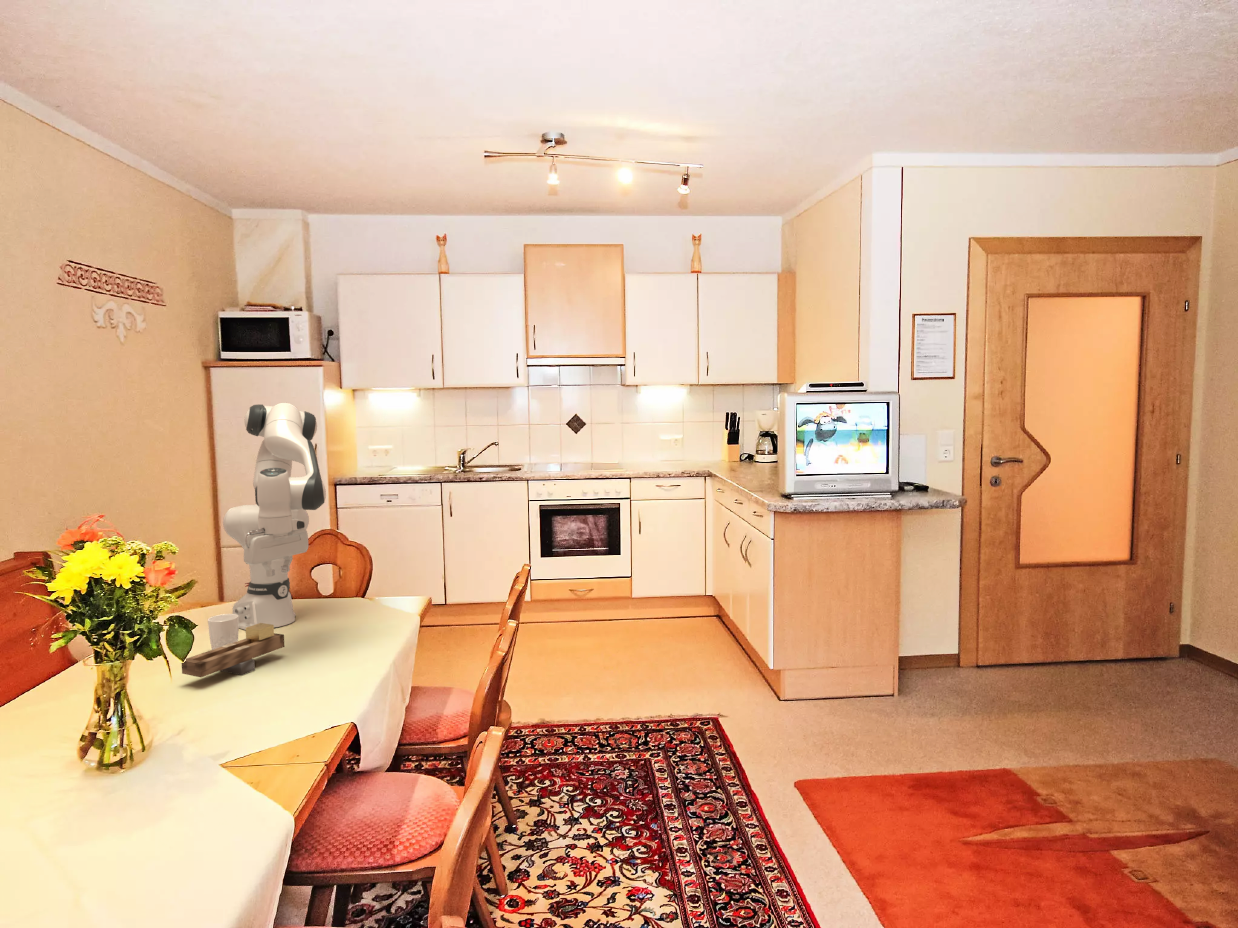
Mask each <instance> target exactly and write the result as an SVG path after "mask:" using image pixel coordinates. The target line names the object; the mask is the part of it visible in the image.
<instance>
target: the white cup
mask: <svg viewBox="0 0 1238 928" xmlns="http://www.w3.org/2000/svg"><path fill="white" fill-rule="evenodd" d="M207 626H208V634H209V640H210V646H211V650H213V649H216V648H219V647H221V646H224V645H227V644H230V643H234V642H237V641H239V629H240V628H239V624H238V615H237V614H233V613H222V614H217V615H214V616H210V617H209V618H207Z"/></svg>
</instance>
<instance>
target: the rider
mask: <svg viewBox="0 0 1238 928" xmlns="http://www.w3.org/2000/svg"><path fill="white" fill-rule="evenodd" d="M274 633H275V627H274V625H271V624H265V623H259V624H256V625H253V626H249V627H246V630H245V639H246V638H247V639H251V643H254V642H257V641H260V640H262V639H265V638H268V637H271V636H274Z"/></svg>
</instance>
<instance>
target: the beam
mask: <svg viewBox="0 0 1238 928" xmlns="http://www.w3.org/2000/svg"><path fill="white" fill-rule="evenodd" d="M285 646H286V645H285V635H284V634H281V633H278V632H277V633H276V632H274V636H271V637H268V638H265V639H262V640H260V641H257V642H254V643H251V639H247V638H246V637H245V638H244V639H241V640H238V641H237V642H234V643H230V644H227V645H224V646H221V647H219V648H216V649H213V650H212V649H209V650H208V651H204V652H202V653H199V654H196V655H192V656H190V657H187V658H185V659H186V661H185V662H184V663H181V674H183V675H187V676H192V677H197V678H203V677H207V676H209V675H211V674H215V673H217V672H219V671H220V672H224V673H228V674H235V675H239V676H244V675H246V674H248V673H251V672H254V671H256V668H255V658H258V657H261V656H263V655H265V654H268V653H272V652H275V651H277V650H279V649H282V648H284V647H285Z"/></svg>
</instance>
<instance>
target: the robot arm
mask: <svg viewBox="0 0 1238 928" xmlns="http://www.w3.org/2000/svg"><path fill="white" fill-rule="evenodd" d="M244 427H245V431H246V432H247V433H248V434H249V435H252V436H254V437H262V438H263V440H262V442H261V444H260V446H259V449H258V453H257V456H256V460H255V465H254V466H255V467H254V473H253V475H254V476H253V481H252V485H253V488H254V497H255V500H254V501H255V504H243V505H238V506H234V507H231V508H229V509H228V510H227V511H226V512H225V514H224V516H223V521H222V526H223V529H224V531H225V532H226V534H227V536H229V537H230V538H232V539H234V540H235V542H237V543H238V544H239V545H240V546H241V547H242V549H243V562H244V563H245V564H247V565H248V568H249V574H250V575H249V577H250V581H249V582H246V583H244V588H246V587H247V589H246V593H245V594H244V595H243V596H242V597H240V598H239V599H238V600H237V601H236V602H235V603H234V604H233V606H232V614H237V615H238V624H239V629H242V630H244V631H246V627H249V626H253V625H256V624H259V623H265V624H271V625H274V628H278V627H279V628H280V627H284V626H287V625H291V624H292V623H294V622H295V621H296V618H295V617H296V612H295V611H294V607H293V606H294V605H293V600H292V594H291V592H290V589H291V588H290V587H291V586H290V584H291V581H290V578H289V576H288V575H289V574H288V573H289V572H290V570H291V569H290V568H291V567H290V566H291V565H292V562H293V559H294V558H293V556H295V555H300V554H304V553H307V551H308V549H309V535H308V534H309V533H308V531H307V529H308V527H309V525H310V516H309V514H308V511H316V510H318V509H319V508H320V507H322V506H323V505H324V503H325V501H326V497H327V493H326V491H327V490H326V486H325V483H324V481H323V480H322V476H321V472H320V468H319V467H320V466H319V462H318V457H317V454H316V451H315V447H314V444H313V442H312V440H313V439H314V436H315V435H316V433H317V431H318V421H317V419H316V416H315V414H314V413H311V412H309V411H302V410H299V408H298V407H297V406H295V405H294V404H292V403H289V402H281V403H280V402H279V403H277V404H275V405H264V404H253V405H251V406H250V407H249V408H248V410H247V411H246V413H245V416H244ZM293 462H296V463H299V464H301V465H303V467H304V470H305V475H303V476H293V477H292V476H291V475H292V469H293V468H292V467H293Z"/></svg>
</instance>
